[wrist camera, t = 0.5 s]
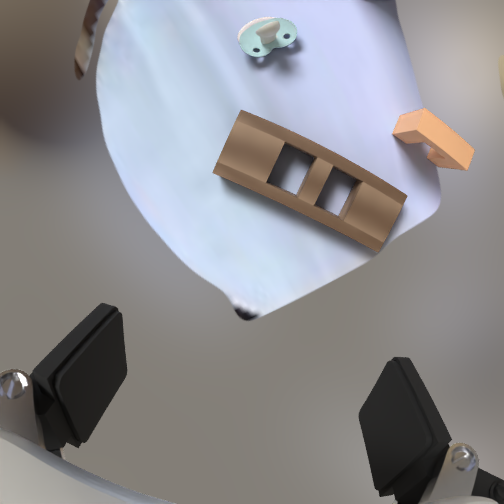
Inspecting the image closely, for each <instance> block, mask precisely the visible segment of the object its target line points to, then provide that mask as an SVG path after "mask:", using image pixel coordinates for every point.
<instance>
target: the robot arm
mask: <svg viewBox="0 0 504 504" xmlns="http://www.w3.org/2000/svg"><path fill="white" fill-rule="evenodd" d="M126 375H127V363H126V354H125V345H124V333H123V319H122V314H121V313H120V312H119V311H118V308H117V307H115V306H111V305H108V304H105V303H101V304H100V305H99V306H97V307H96V308H95V309H94V310H93V311H92V312H91V313H90V314H89V315H88V316H87V317H86V318H85V319H84V320H83V321H82V322H80V323H79V324H78V325H77V326H76V327H75V328H74V329H73V330H72V331H71V332H70V333H69V334H68V335H67V336H66V337H65V338H64V339H63V340H62V341H61V342H60V343H59V344H58V345H57V346H56V347H55V348H54V349H53V350H52V351H51V352H50V353H49V354H48V355H47V356H46V357H45V358H44V359H43V360H42V361H41V362H40V363H39V364H38V365H37V366H36V368H34V370H33V372H32V374H31V375H30V376H29V375H28V374H27V373H26V372H24V371H22V370H19V369H8V370H5V371H3V372H1V373H0V504H176V503H172V502H169V501H165V500H161V499H158V498H155V497H152V496H148V495H145V494H142V493H139V492H137V491H134V490H131V489H128V488H125V487H123V486H120V485H118V484H115V483H112V482H110V481H108V480H105V479H103V478H101V477H99V476H97V475H94V474H92V473H90V472H87V471H85V470H83V469H81V468H79V467H77V466H75V465H73V464H71V463H69V462H67V461H66V458H65V454H64V450H63V447H64V446H65V444H66V442H67V443H69V444H71V445H73V446H75V447H77V448H79V446H80V444H81V443H82V442H83V443H85V442H87V440H88V439H89V437H90V435H91V434H92V432H93V430H94V428H95V427H96V425H97V423H98V422H99V420H100V418H101V417H102V415H103V413H104V412H105V410H106V408H107V407H108V405H109V404H110V402H111V400H112V399H113V397H114V395H115V394H116V392H117V391H118V389H119V387H120V386H121V384H122V382H123V381H124V379H125V377H126ZM359 421H360V425H361V429H362V433H363V438H364V442H365V446H366V450H367V455H368V459H369V464H370V468H371V473H372V478H373V482H374V486H375V489H376V490H378V491H379V496H380V497H383V496H389V495H393V494H394V495H395V500H394V502H393V503H392V504H504V480H502V479H500V478H498V477H496V476H494V475H491V474H490V473H488V472H486V471H484V470H482V469H480V468H478V466H479V459H478V455H477V453H476V451H475V450H474V449H473V448H472V447H471V446H469V445H467V444H464V443H456V444H453V445H452V446H451V447H449V444H448V443H449V442H450V441H451V440H452V439H451V437H450V434H449V432H448V430H447V428H446V426H445V424H444V422H443V420H442V418H441V416H440V414H439V412H438V410H437V408H436V406H435V404H434V402H433V400H432V398H431V396H430V394H429V392H428V391H427V389H426V387H425V385H424V383H423V381H422V379H421V378H420V376H419V374H418V372H417V370H416V369H415V367H414V365H413V363H412V362H411V360H410V359H409V358H406V357H405V358H404V357H394V358H393V359H392V360H391V361H388V362H387V364H386V366H385V367H384V369H383V371H382V373H381V375H380V377H379V379H378V380H377V382H376V384H375V386H374V388H373V389H372V391H371V393H370V394H369V396H368V398H367V400H366V401H365V403H364V404H363V406H362V408H361V409H360V412H359Z"/></svg>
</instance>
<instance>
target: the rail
mask: <svg viewBox="0 0 504 504" xmlns="http://www.w3.org/2000/svg"><path fill="white" fill-rule="evenodd" d="M284 143H285V144H287V145H289V146H291V147H293V148H295V149H298V150H300V151H302V152H304V153H306V154H308V155H310V156H312V157H314V159H313V161H312V163H311V165H310V167H309V169H308V171H307V173H306V176H305V178H304V180H303V182H302V184H301V186H300V188H299V190H298V192H297V194H296V195H295V194H293V193H291V192H289V191H287V190H284V189H282V188H280V187H278V186H276V185H274V184H272V183H269V182H267V179H268V177H269V175H270V173H271V171H272V169H273V166H274V164H275V162H276V160H277V158H278V156H279V154H280V152H281V149H282V147H283V145H284ZM332 167H333V168H335V169H337V170H339V171H341V172H343V173H345V174H346V175H348V176H350V177H352V178H354V179H355V180H356V181H355V183H354V186H353V188H352V190H351V192H350V194H349V196H348V198H347V200H346V202H345V204H344V206H343V208H342V210H341V212H340V214H339V216H337V215H335V214H333V213H331V212H329V211H327V210H325V209H323V208H321V207H319V206H317V205H315V202H316V200H317V198H318V196H319V194H320V192H321V190H322V188H323V186H324V184H325V182H326V180H327V178H328V176H329V174H330V171H331V169H332ZM213 173H214V174H216V175H219V176H221V177H223V178H226V179H228V180H230V181H232V182H235V183H237V184H239V185H242V186H244V187H246V188H248V189H251V190H253V191H255V192H257V193H259V194H262V195H264V196H266V197H268V198H270V199H272V200H275V201H277V202H279V203H281V204H283V205H285V206H287V207H289V208H292V209H294V210H296V211H298V212H300V213H302V214H304V215H306V216H308V217H310V218H312V219H314V220H316V221H318V222H320V223H322V224H324V225H326V226H328V227H330V228H332V229H334V230H336V231H338V232H340V233H342V234H344V235H346V236H348V237H350V238H352V239H354V240H356V241H357V242H359V243H361V244H363V245H365V246H367V247H369V248H371V249H373V250H374V251H376V252H379V250H380V249H381V247H382V245H383V243H384V241H385V239H386V238H387V236H388V234H389V232H390V230H391V228H392V226H393V224H394V222H395V220H396V218H397V216H398V214H399V212H400V210H401V208H402V206H403V204H404V202H405V200H406V198H407V195H406V194H404V193H403V192H401V191H400V190H398V189H397V188H395V187H393V186H392V185H390V184H389V183H387V182H385V181H384V180H382V179H380V178H379V177H377V176H375V175H374V174H372V173H370V172H369V171H367V170H365V169H364V168H362V167H360V166H358V165H357V164H355V163H353V162H351V161H349V160H348V159H346V158H344V157H342V156H340V155H338V154H337V153H335V152H333V151H331V150H329V149H327V148H325V147H323V146H321V145H319V144H317V143H315V142H313V141H311V140H309V139H307V138H305V137H303V136H301V135H299V134H297V133H294V132H292V131H290V130H288V129H286V128H284V127H281V126H279V125H277V124H275V123H272V122H270V121H268V120H265V119H263V118H261V117H258V116H256V115H253V114H251V113H248V112H246V111H243V110H241V111H240V113H239V115H238V117H237V119H236V121H235V123H234V125H233V128H232V130H231V132H230V134H229V136H228V139H227V141H226V143H225V145H224V147H223V150H222V152H221V154H220V156H219V159H218V161H217V163H216V166H215V168H214V170H213Z"/></svg>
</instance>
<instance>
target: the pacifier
mask: <svg viewBox="0 0 504 504" xmlns="http://www.w3.org/2000/svg"><path fill="white" fill-rule="evenodd" d="M286 34H289V35H290V38H289V39H284V37H283V36H284V35H286ZM296 36H297V29H296V26H295V25H294V24H293V23H292V22H291V21H289V20H286V19H283V18H274V17H263V18H258V19H256V20H253V21H251V22H249V23H247V24H246V25H245V26H244V27H243V28H242V29H241V30H240V31H239V33H238V41H239V44H240V47H241V48H242V50H243V51H244V52H245V53H246V54H248V55H250V56H253V57H263V56H266V55H268V54H269V53H270V52H271V51H272V49H274V48H281V47H285V46H288V45H290V44H291V43H292V42H293V41H294V40H295V38H296ZM255 48H257V49H259V50H260V52H258V53H256V52H254V51H253V49H255Z"/></svg>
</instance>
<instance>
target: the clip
mask: <svg viewBox="0 0 504 504" xmlns="http://www.w3.org/2000/svg"><path fill="white" fill-rule="evenodd" d="M392 134H393V135H394V136H396V137H397V138H399V139H400V140H402V141H403V142H405V143H406V144H409V143H422V142H424V143H426V144H427V145H429V146H430V147H431V148H430V151H429V153H428V156H427V159H429V160H430V161H431V162H433V163H434V164H435V165H437V166H438V167H442V168H451V169H460V170H468V168H469V165H470V162H471V160H472V157H473V154H474V151H475V150H474V148H472V147H471V146H470V145H469V144H468V143H467V142H466V141H465V140H464V139H463V138H461V137H460V136H459V135H458V134H457V133H456V132H455V131H453V130H452V129H451V128H450V127H448V126H447V125H446V124H445V123H444V122H442V121H441V120H440V119H439V118H437V117H436V116H434V115H433V114H432V113H431V112H429V111H428V110H427V109H425V108H423V109H420V110H416V111H413V112H410V113H406V114H403V115H400V116H399V119H398V121H397V124H396V126H395V128H394V131H393V133H392Z"/></svg>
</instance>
